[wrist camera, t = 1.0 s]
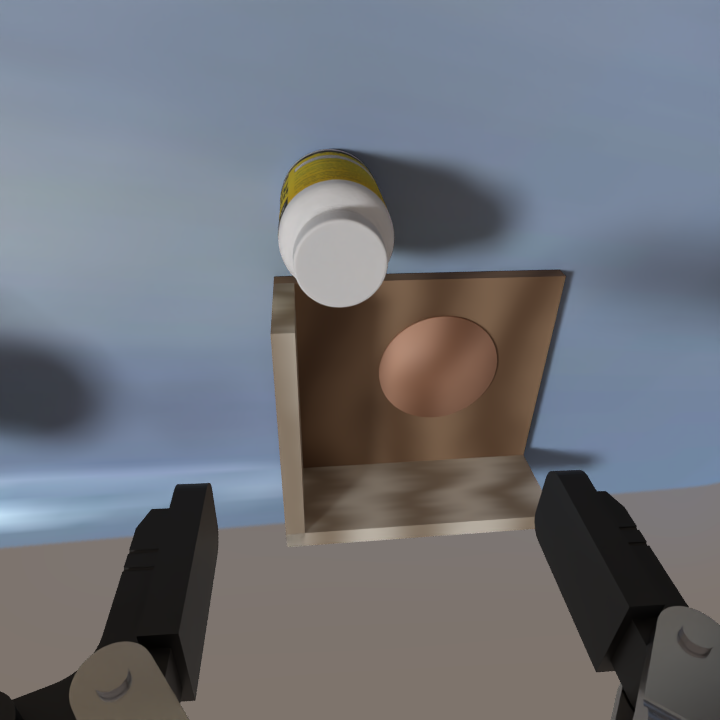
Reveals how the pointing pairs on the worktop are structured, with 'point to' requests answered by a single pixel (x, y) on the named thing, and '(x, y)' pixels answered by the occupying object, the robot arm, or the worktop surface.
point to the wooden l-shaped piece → (411, 405)
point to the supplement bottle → (334, 228)
